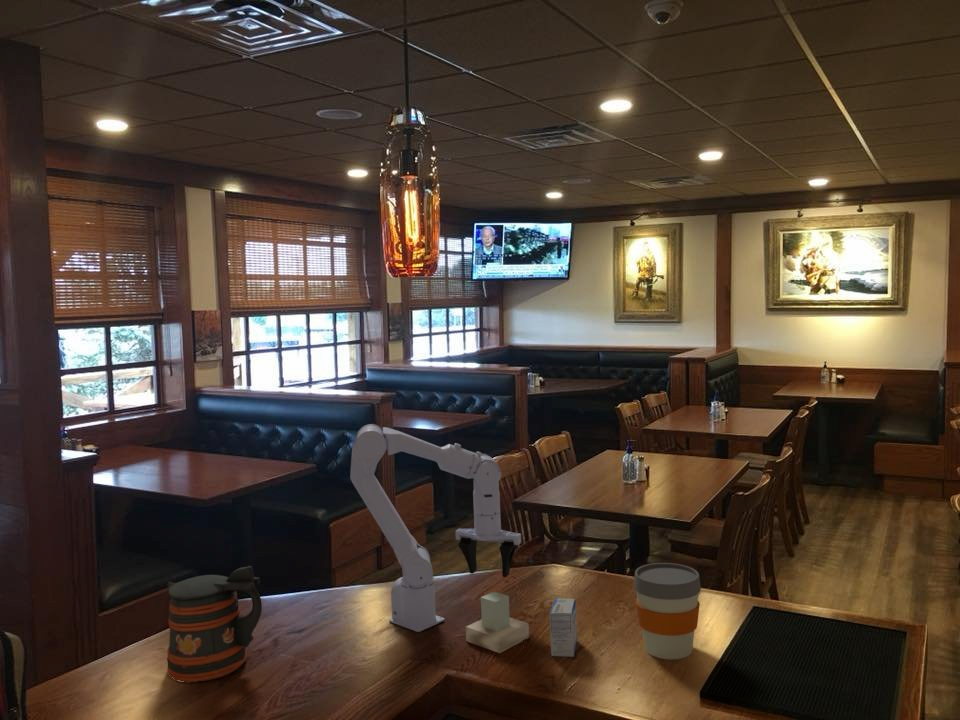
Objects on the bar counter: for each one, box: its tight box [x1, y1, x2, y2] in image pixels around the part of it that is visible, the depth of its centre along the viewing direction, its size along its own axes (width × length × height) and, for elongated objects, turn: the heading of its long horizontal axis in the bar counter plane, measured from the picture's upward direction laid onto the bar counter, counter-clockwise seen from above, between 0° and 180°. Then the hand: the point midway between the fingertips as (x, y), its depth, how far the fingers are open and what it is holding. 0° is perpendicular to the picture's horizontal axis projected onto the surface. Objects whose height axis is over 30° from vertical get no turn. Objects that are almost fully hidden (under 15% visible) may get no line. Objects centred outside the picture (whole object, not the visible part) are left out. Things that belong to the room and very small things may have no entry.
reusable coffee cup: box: [633, 562, 702, 660], centre depth 153 cm, size 12×13×15 cm
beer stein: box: [166, 565, 263, 683], centre depth 153 cm, size 19×15×20 cm
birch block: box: [465, 617, 530, 654], centre depth 161 cm, size 9×9×3 cm
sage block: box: [480, 591, 511, 631], centre depth 160 cm, size 4×4×6 cm
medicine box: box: [549, 597, 578, 658], centre depth 155 cm, size 8×4×9 cm, turn 168°
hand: (489, 573), depth 172 cm, fingers open, 7 cm apart
